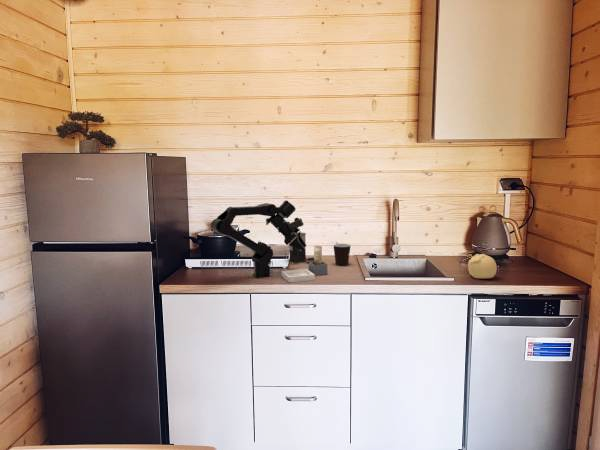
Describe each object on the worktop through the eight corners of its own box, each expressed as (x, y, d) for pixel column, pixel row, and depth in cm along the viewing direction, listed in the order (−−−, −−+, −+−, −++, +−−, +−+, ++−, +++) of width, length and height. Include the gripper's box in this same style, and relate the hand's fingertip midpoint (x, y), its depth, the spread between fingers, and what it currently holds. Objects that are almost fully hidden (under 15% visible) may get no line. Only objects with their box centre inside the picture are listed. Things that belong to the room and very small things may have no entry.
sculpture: (468, 273, 208) (469, 250, 206) (497, 276, 202) (498, 252, 201) (465, 279, 198) (466, 255, 196) (495, 282, 192) (496, 257, 191)
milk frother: (287, 259, 241) (287, 232, 239) (316, 258, 244) (316, 231, 242) (292, 265, 227) (291, 236, 225) (322, 263, 230) (322, 235, 228)
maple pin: (315, 274, 208) (315, 247, 206) (313, 272, 211) (313, 246, 209) (323, 274, 209) (322, 246, 207) (320, 272, 212) (320, 245, 210)
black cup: (344, 267, 222) (344, 247, 220) (330, 265, 227) (330, 245, 225) (356, 263, 231) (356, 243, 229) (342, 260, 236) (342, 242, 234)
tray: (289, 282, 195) (288, 277, 194) (281, 276, 206) (281, 270, 206) (314, 280, 199) (314, 274, 198) (306, 273, 210) (305, 268, 209)
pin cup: (313, 275, 206) (313, 265, 205) (308, 272, 212) (308, 262, 212) (327, 274, 208) (327, 264, 207) (322, 271, 214) (322, 261, 214)
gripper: (291, 215, 198) (316, 239, 199) (295, 210, 216) (318, 233, 217) (273, 232, 200) (298, 256, 200) (279, 226, 218) (302, 248, 219)
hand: (305, 248), depth 209 cm, fingers open, 9 cm apart
